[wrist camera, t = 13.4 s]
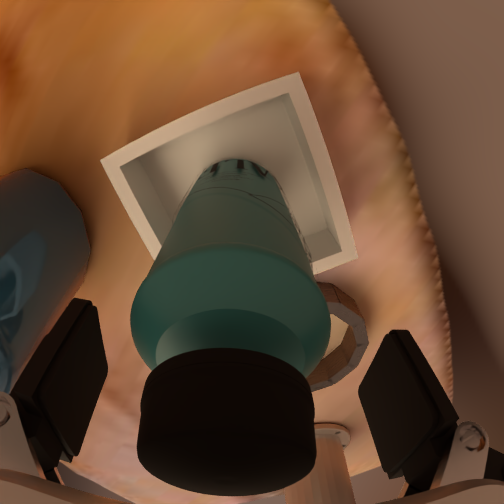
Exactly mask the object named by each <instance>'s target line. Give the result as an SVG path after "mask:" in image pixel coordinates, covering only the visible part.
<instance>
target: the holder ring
mask: <svg viewBox="0 0 504 504" xmlns="http://www.w3.org/2000/svg"><path fill="white" fill-rule="evenodd" d="M316 283H317V285H318V286H319V288H320V289H321V291H322V293H323V295H324V297H325V299H326V302H327V305H328V309H329V312H330V314H334V315H335V316H337V317H338V318H340V319H341V320H343V321H344V322H346V323H347V324H348V325H349V326H348V329H347V331H346V333H345V336H344V338H343V341H342V343H341V345H340V346H339V347H337V348H336V349H335V350H334V351H333V352H332V353H330V354H329V355H328V356H327V357H326V358H324V359H323V360H321V361H320V362H319V364H318V365H317V366H316V368H315V369H314V370H313V371H312V373H311V374H310V375H309V376H308V377H307V378H306V380H307V381H308V383H309V385H310V388H311V392H313V391H316V390H320V389H323V388H326V387H329V386H332V385H333V384H336V383H337V382H338V381H340V380H341V379H342V378H343V377H345V376H346V375H347V374H349V373H350V372H351V371H352V370H354V369H355V368H356V367H357V366H358V364H359V362H360V360H361V358H362V356H363V354H364V352H365V350H366V348H367V346H368V344H369V341H368V336H367V331H366V327H365V322H364V319H363V317H362V315H361V313H360V311H359V309H358V307H357V305H356V303H355V301H354V300H353V299H352V298H351V297H349V296H348V295H346V294H345V293H344V292H342V291H341V290H340V289H338V288H337V287H336V286H334V285H333V284H332V285H331V284H330V283H319V282H316Z"/></svg>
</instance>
